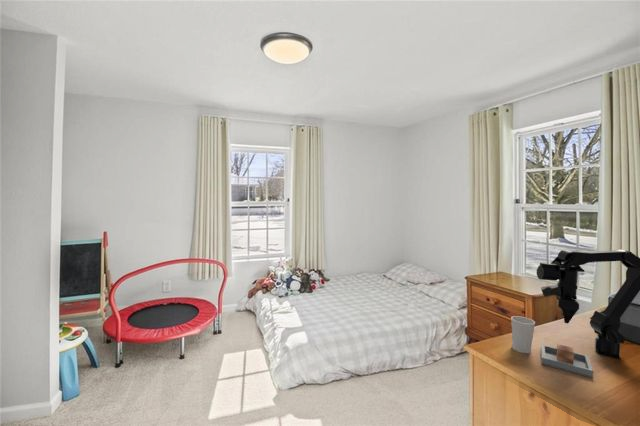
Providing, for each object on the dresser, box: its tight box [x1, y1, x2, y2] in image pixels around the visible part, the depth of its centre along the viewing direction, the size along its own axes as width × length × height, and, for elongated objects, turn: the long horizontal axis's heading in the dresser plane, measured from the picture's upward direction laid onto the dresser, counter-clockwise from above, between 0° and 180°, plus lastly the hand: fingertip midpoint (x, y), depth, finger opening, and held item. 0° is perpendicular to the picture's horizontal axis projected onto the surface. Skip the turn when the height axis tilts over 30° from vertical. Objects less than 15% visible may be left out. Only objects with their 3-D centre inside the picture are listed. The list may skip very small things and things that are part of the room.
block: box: [556, 343, 575, 364], centre depth 112 cm, size 4×4×5 cm
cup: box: [510, 315, 536, 354], centre depth 122 cm, size 8×8×12 cm
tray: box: [540, 343, 594, 379], centre depth 112 cm, size 14×13×2 cm
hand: (565, 319), depth 123 cm, fingers open, 9 cm apart
